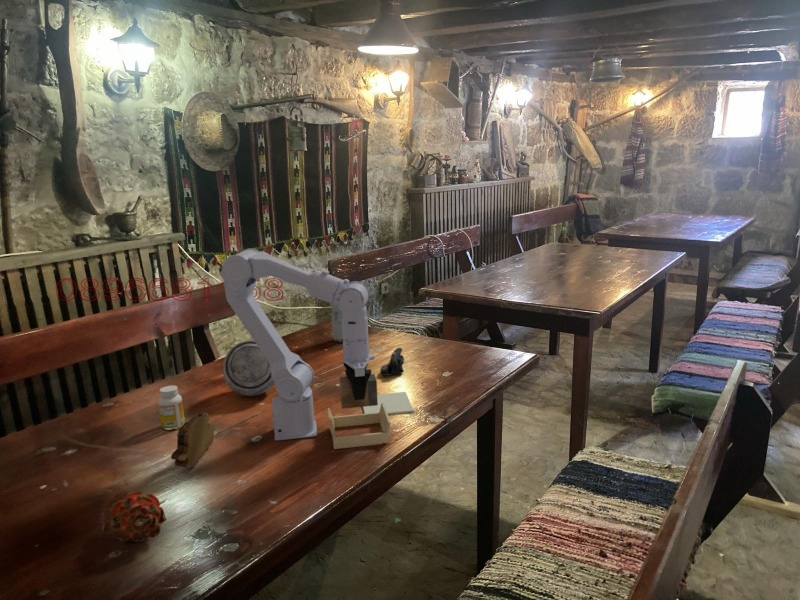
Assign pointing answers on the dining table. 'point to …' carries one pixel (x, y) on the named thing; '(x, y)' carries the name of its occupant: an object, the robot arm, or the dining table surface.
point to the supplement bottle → (170, 407)
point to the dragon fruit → (136, 517)
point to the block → (348, 396)
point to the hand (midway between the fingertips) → (358, 395)
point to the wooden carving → (193, 440)
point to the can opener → (394, 364)
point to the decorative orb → (247, 369)
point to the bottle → (336, 322)
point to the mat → (391, 404)
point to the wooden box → (360, 420)
